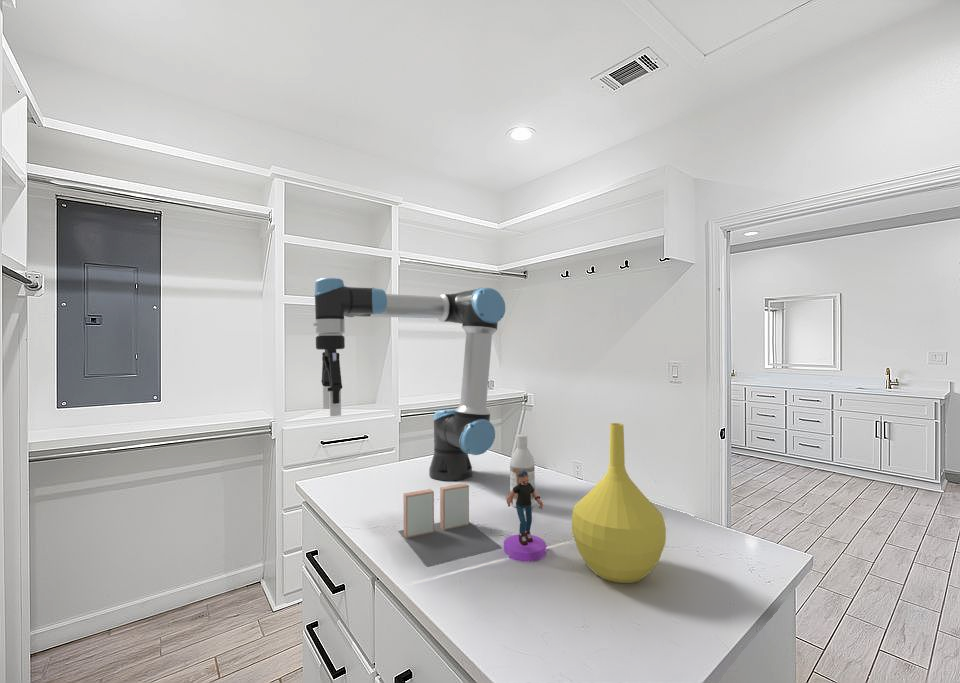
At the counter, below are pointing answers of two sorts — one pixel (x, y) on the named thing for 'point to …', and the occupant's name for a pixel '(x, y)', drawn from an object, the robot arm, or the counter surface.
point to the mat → (450, 544)
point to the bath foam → (522, 466)
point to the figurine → (524, 525)
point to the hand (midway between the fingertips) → (331, 412)
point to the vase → (618, 523)
